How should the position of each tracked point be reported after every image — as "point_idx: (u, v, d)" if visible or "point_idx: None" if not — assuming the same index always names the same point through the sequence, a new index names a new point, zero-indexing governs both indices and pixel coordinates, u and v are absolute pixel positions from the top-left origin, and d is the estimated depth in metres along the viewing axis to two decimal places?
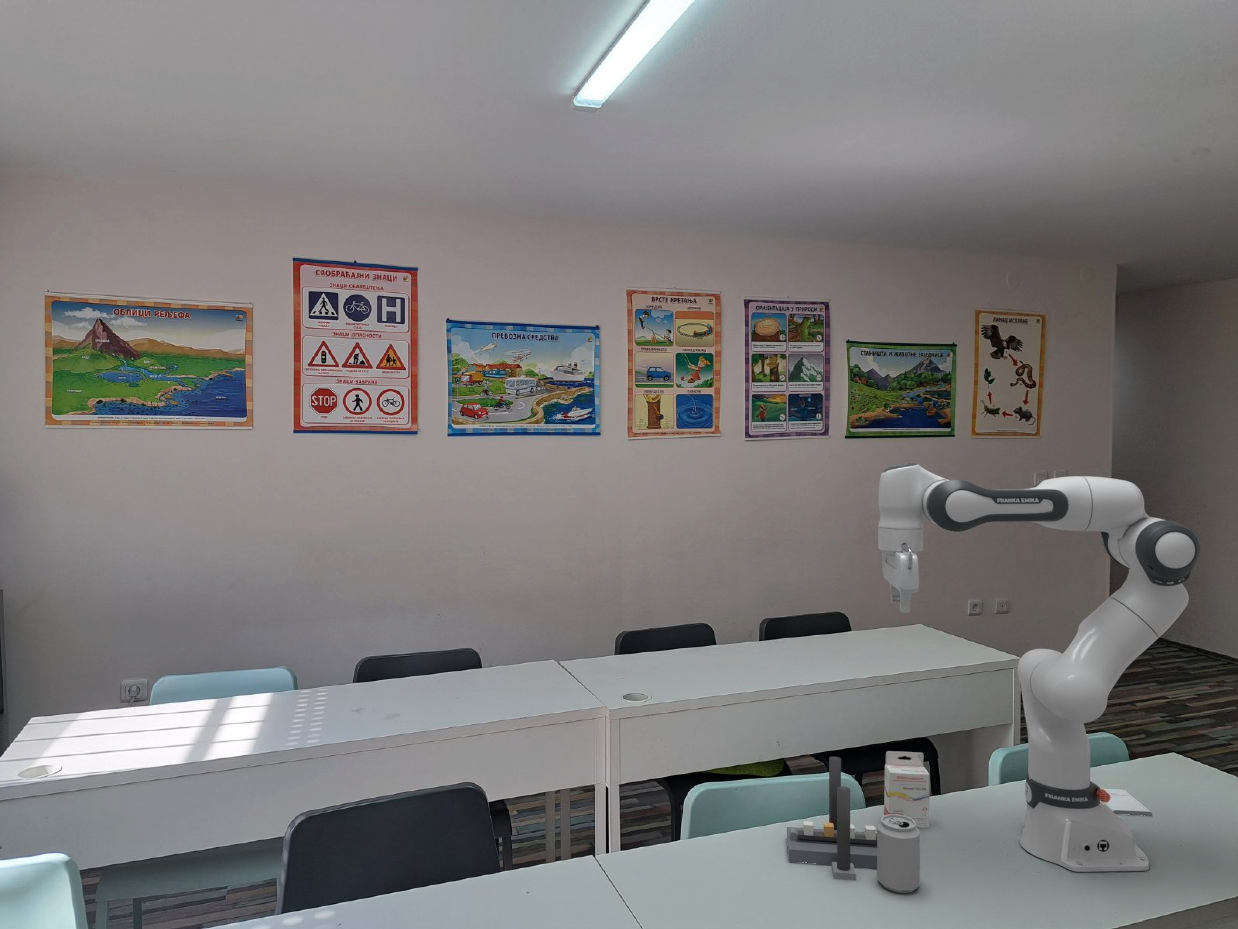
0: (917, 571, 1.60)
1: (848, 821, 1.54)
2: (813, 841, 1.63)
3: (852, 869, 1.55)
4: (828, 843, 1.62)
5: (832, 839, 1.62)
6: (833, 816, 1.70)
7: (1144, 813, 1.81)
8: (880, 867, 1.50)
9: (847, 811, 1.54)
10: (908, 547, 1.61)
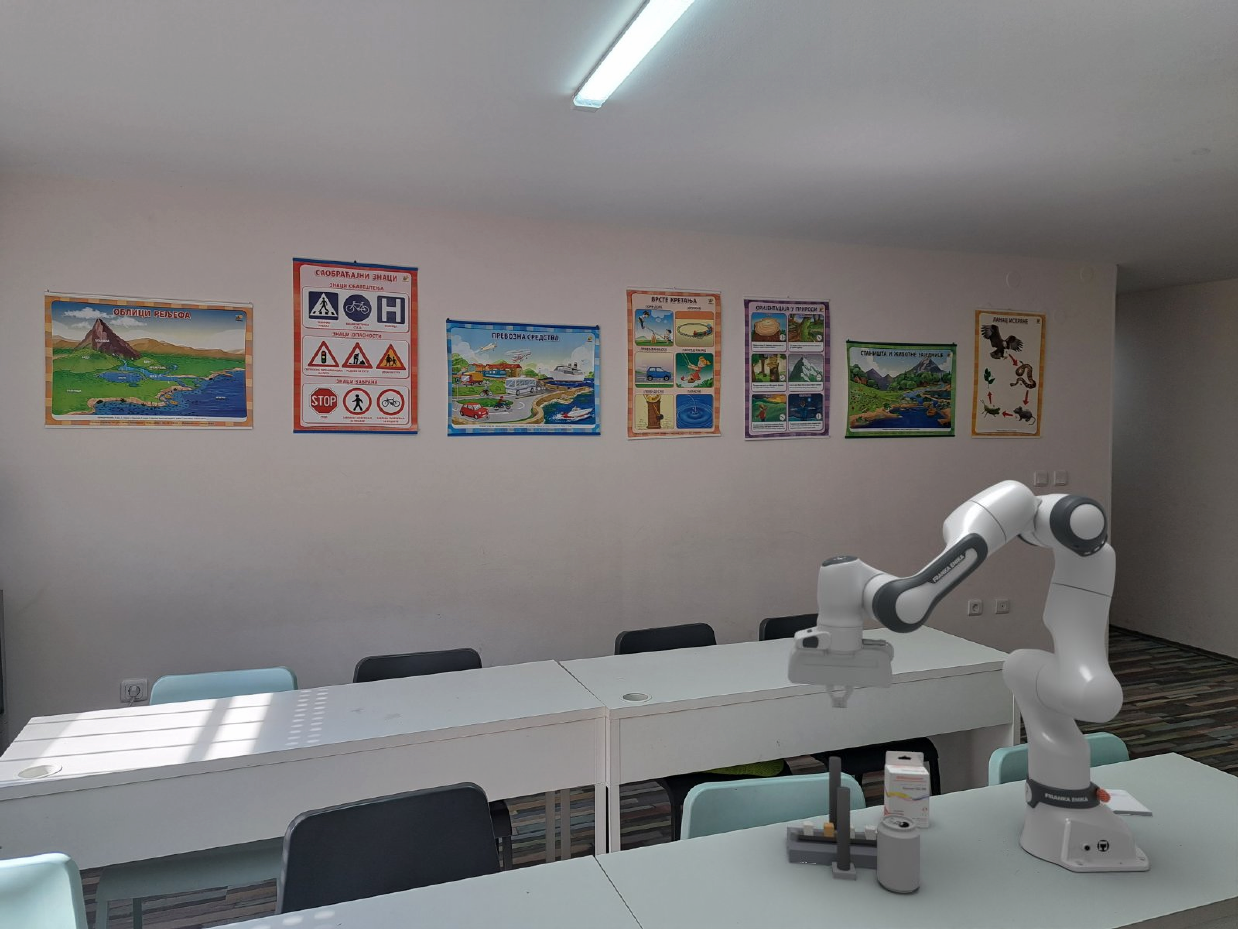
0: None
1: (848, 821, 1.54)
2: (813, 841, 1.63)
3: (852, 869, 1.55)
4: (828, 843, 1.62)
5: (832, 839, 1.62)
6: (833, 816, 1.70)
7: (1144, 813, 1.81)
8: (880, 867, 1.50)
9: (847, 811, 1.54)
10: (885, 641, 1.62)
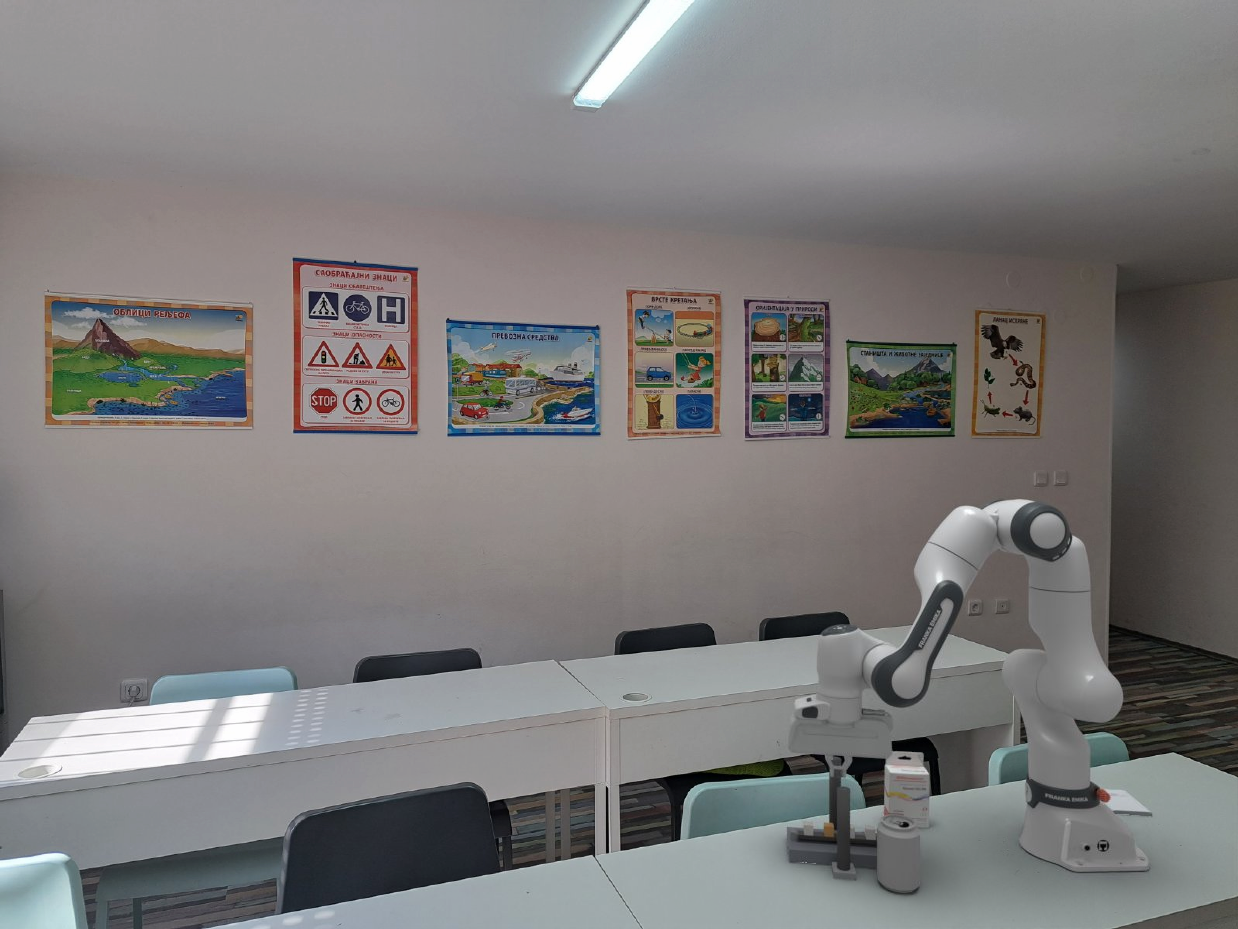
0: None
1: (848, 821, 1.54)
2: (813, 841, 1.63)
3: (852, 869, 1.55)
4: (828, 843, 1.62)
5: (832, 839, 1.62)
6: (833, 816, 1.70)
7: (1144, 813, 1.81)
8: (880, 867, 1.50)
9: (847, 811, 1.54)
10: None
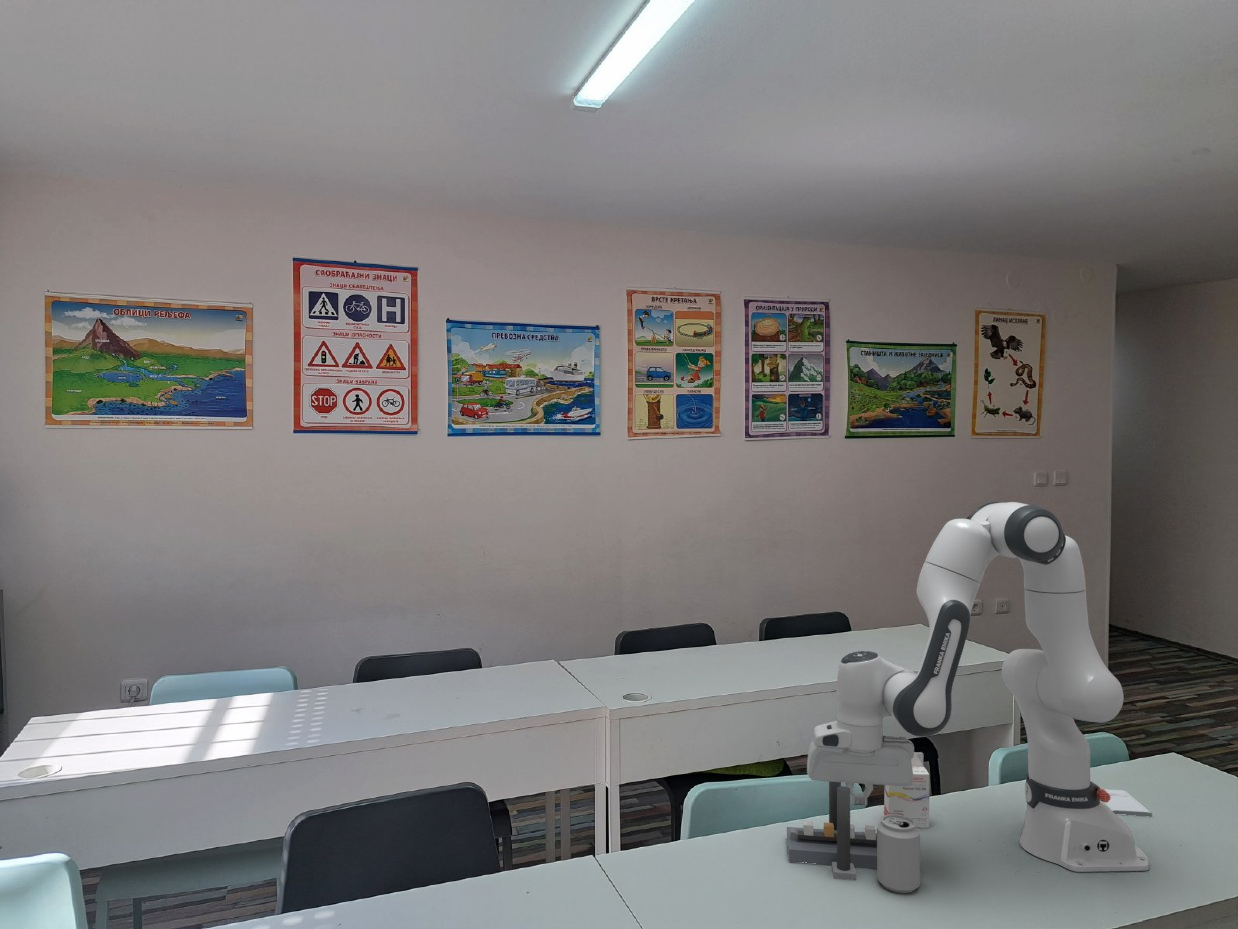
0: None
1: (848, 821, 1.54)
2: (813, 841, 1.63)
3: (852, 869, 1.55)
4: (828, 843, 1.62)
5: (832, 839, 1.62)
6: (833, 816, 1.70)
7: (1144, 814, 1.81)
8: (880, 867, 1.50)
9: (847, 811, 1.54)
10: None
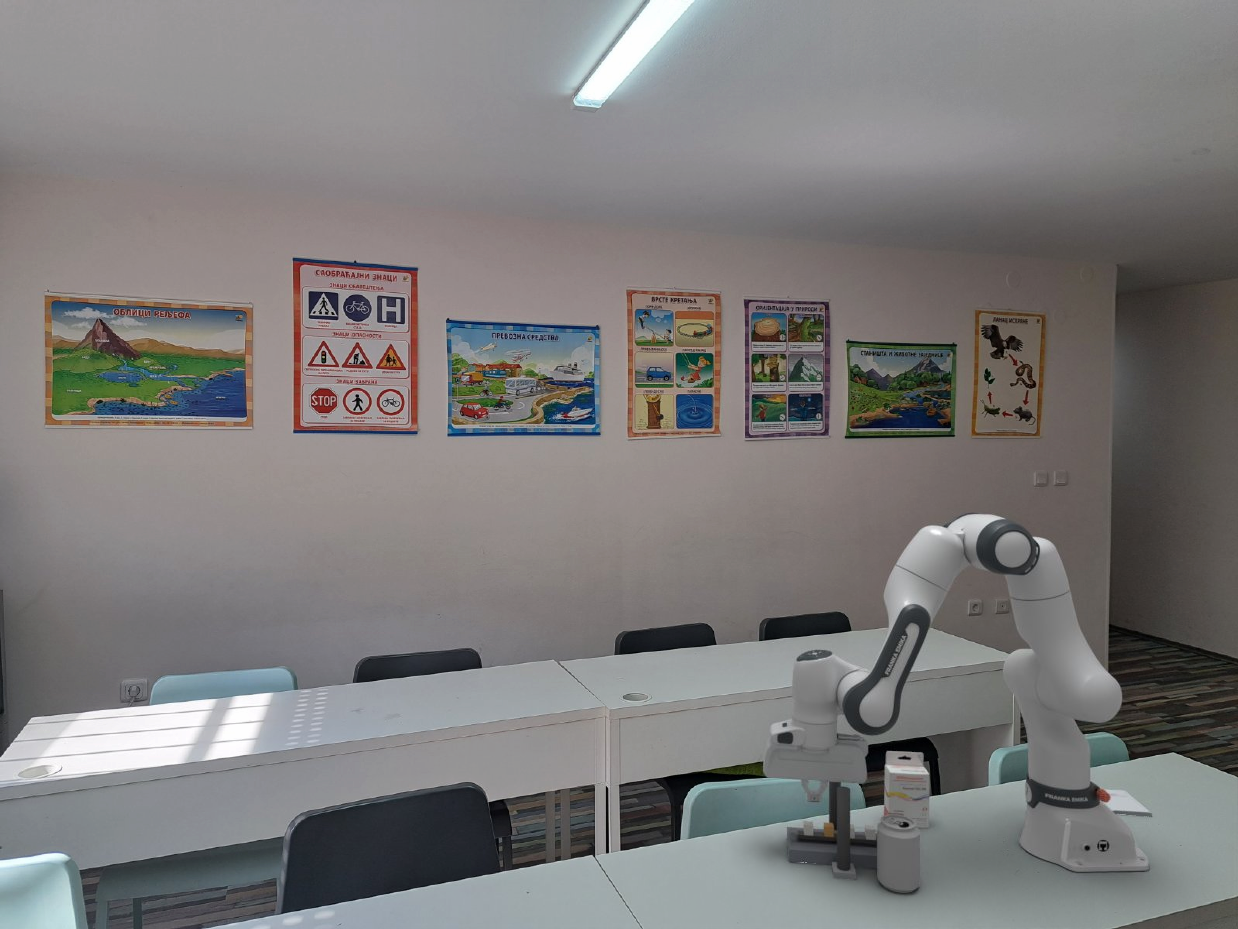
0: None
1: (848, 821, 1.54)
2: (813, 841, 1.63)
3: (852, 869, 1.55)
4: (828, 843, 1.62)
5: (832, 839, 1.62)
6: (833, 816, 1.70)
7: (1144, 814, 1.81)
8: (880, 867, 1.50)
9: (847, 811, 1.54)
10: None
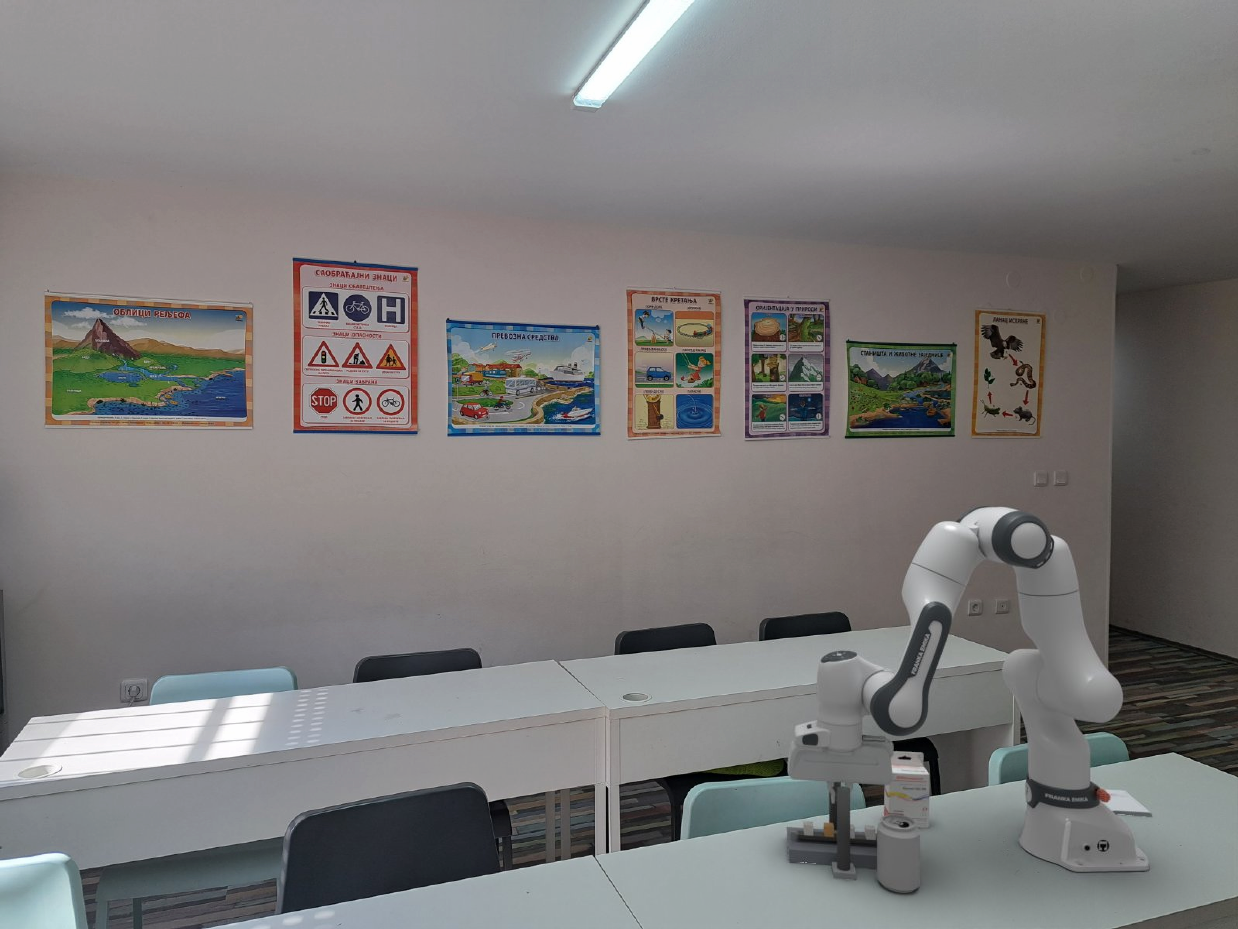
0: None
1: (848, 821, 1.54)
2: (813, 841, 1.63)
3: (852, 869, 1.55)
4: (828, 843, 1.62)
5: (832, 839, 1.62)
6: (833, 816, 1.70)
7: (1143, 814, 1.80)
8: (880, 867, 1.50)
9: (847, 811, 1.54)
10: (885, 737, 1.62)
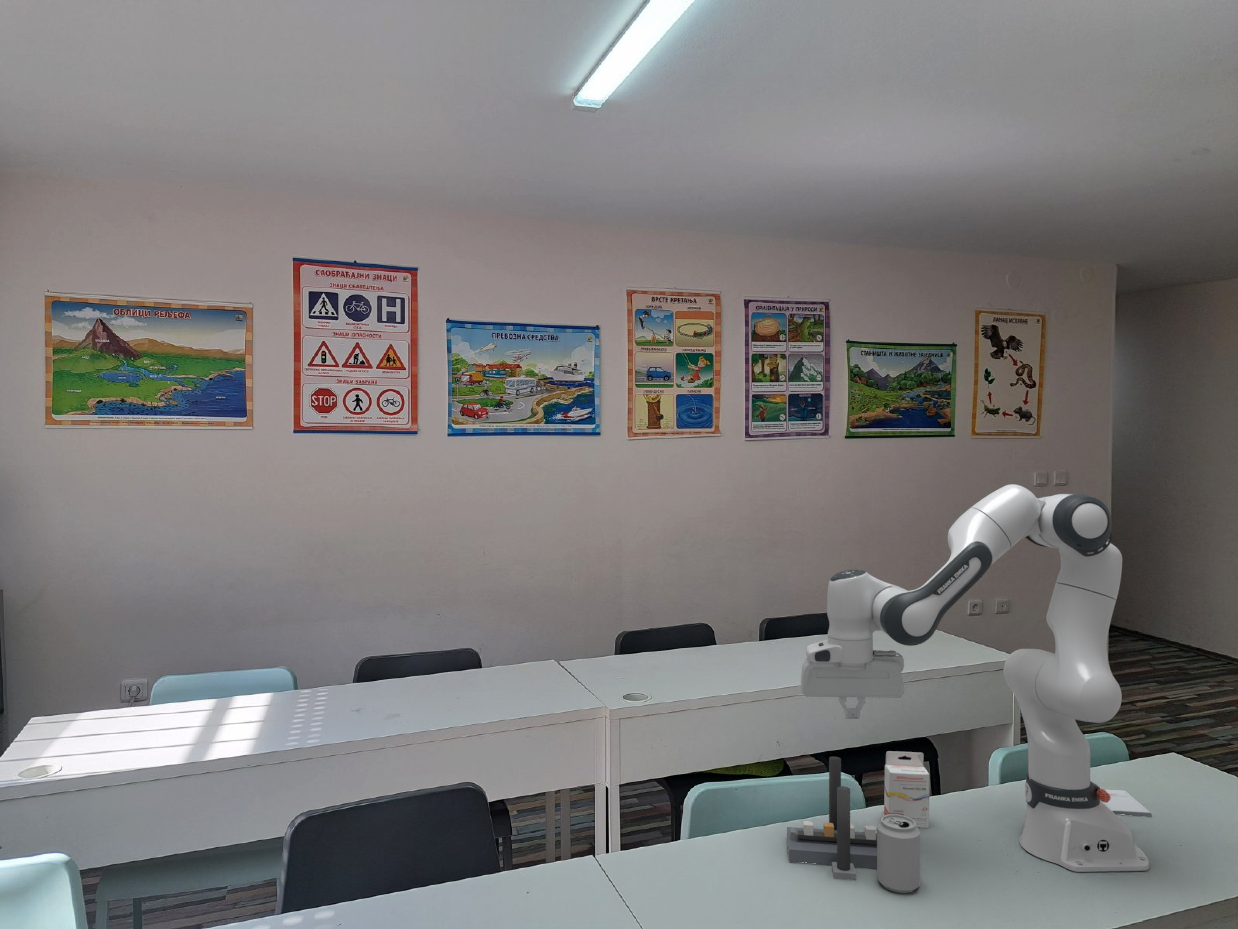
0: None
1: (848, 821, 1.54)
2: (813, 841, 1.63)
3: (852, 869, 1.55)
4: (828, 843, 1.62)
5: (832, 839, 1.62)
6: (833, 816, 1.70)
7: (1143, 814, 1.80)
8: (880, 867, 1.50)
9: (847, 811, 1.54)
10: (895, 652, 1.65)
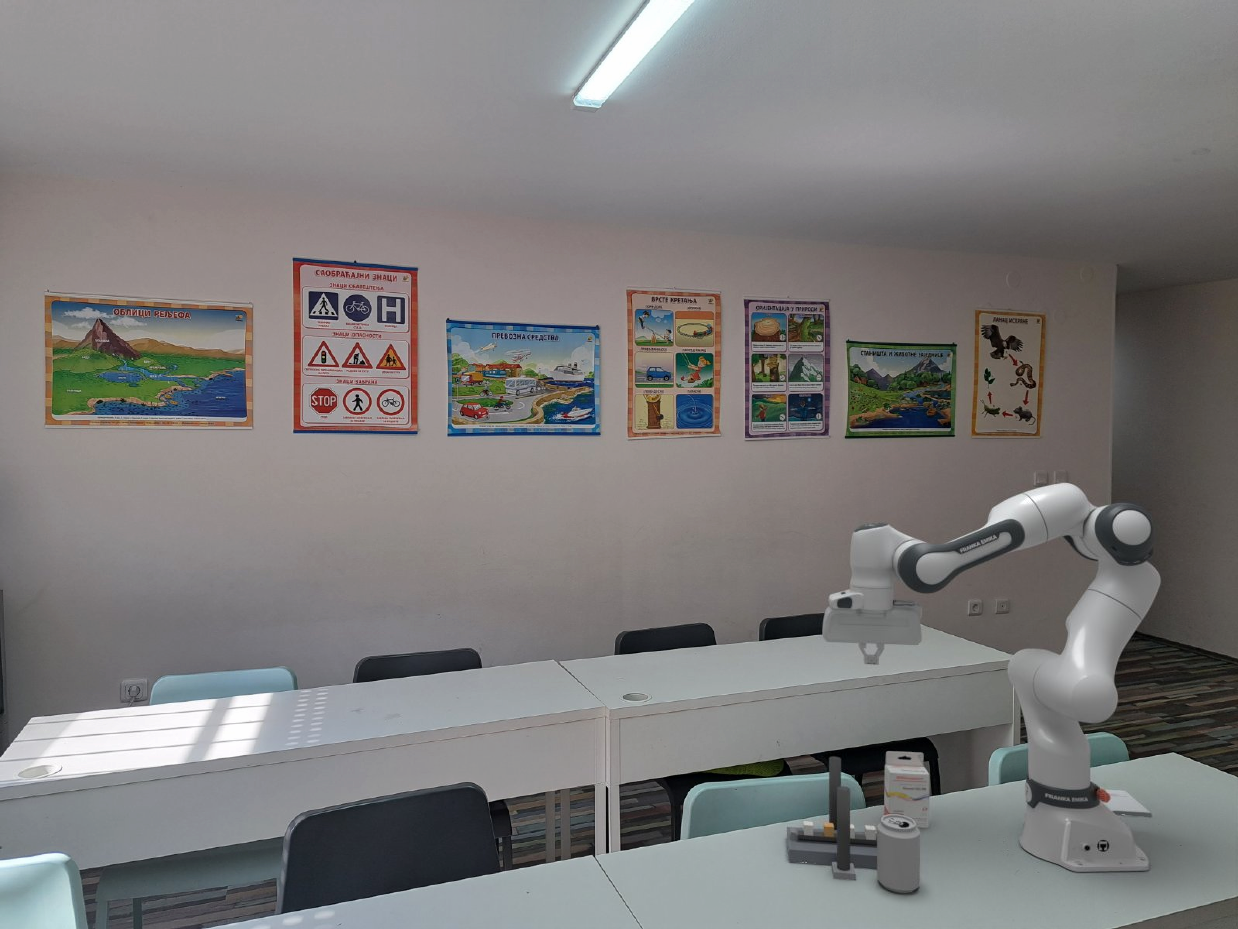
0: None
1: (848, 821, 1.54)
2: (813, 841, 1.63)
3: (852, 869, 1.55)
4: (828, 843, 1.62)
5: (832, 839, 1.62)
6: (833, 816, 1.70)
7: (1143, 814, 1.80)
8: (880, 867, 1.50)
9: (847, 811, 1.54)
10: (914, 601, 1.73)
